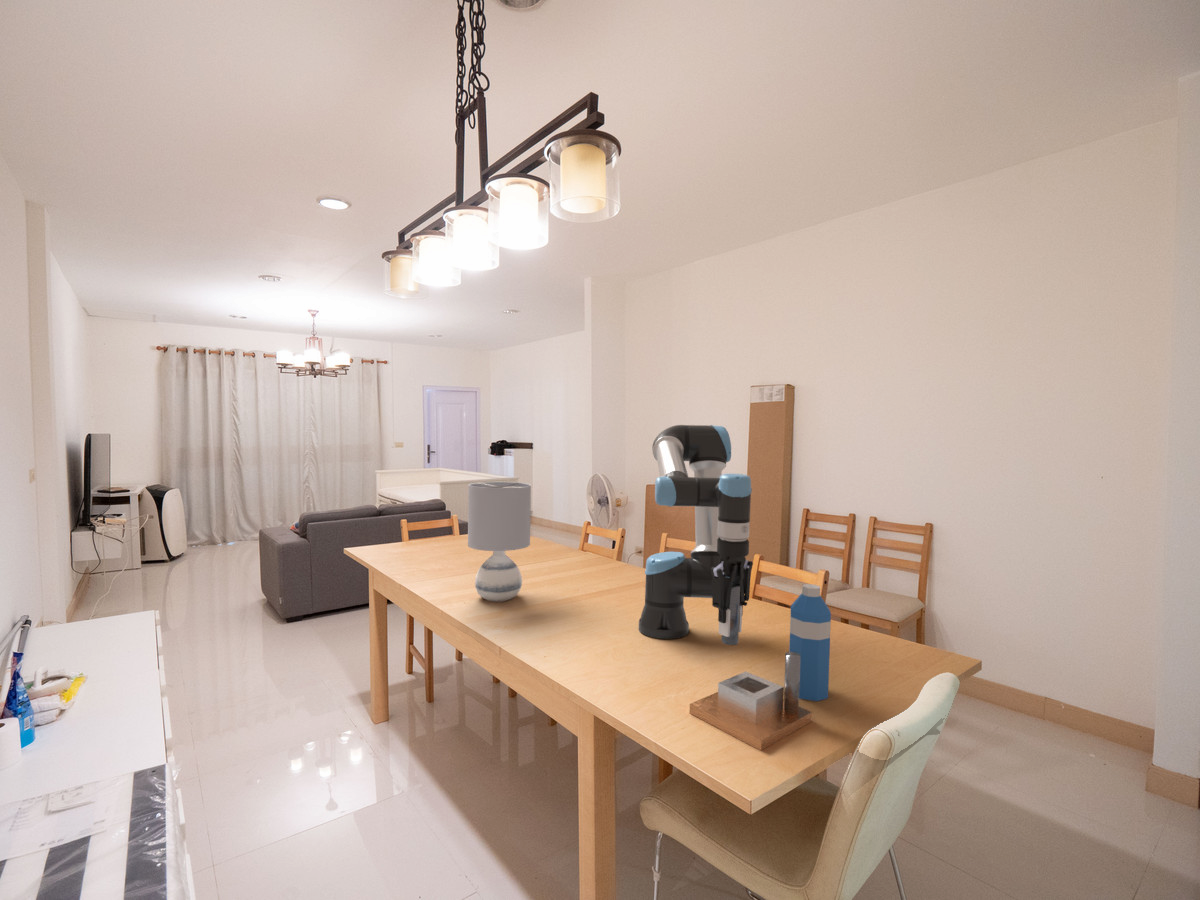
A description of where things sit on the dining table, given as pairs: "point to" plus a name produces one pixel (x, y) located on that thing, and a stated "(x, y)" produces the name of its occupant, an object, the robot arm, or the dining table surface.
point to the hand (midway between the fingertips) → (730, 632)
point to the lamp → (499, 534)
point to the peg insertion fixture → (756, 706)
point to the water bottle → (811, 642)
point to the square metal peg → (733, 616)
